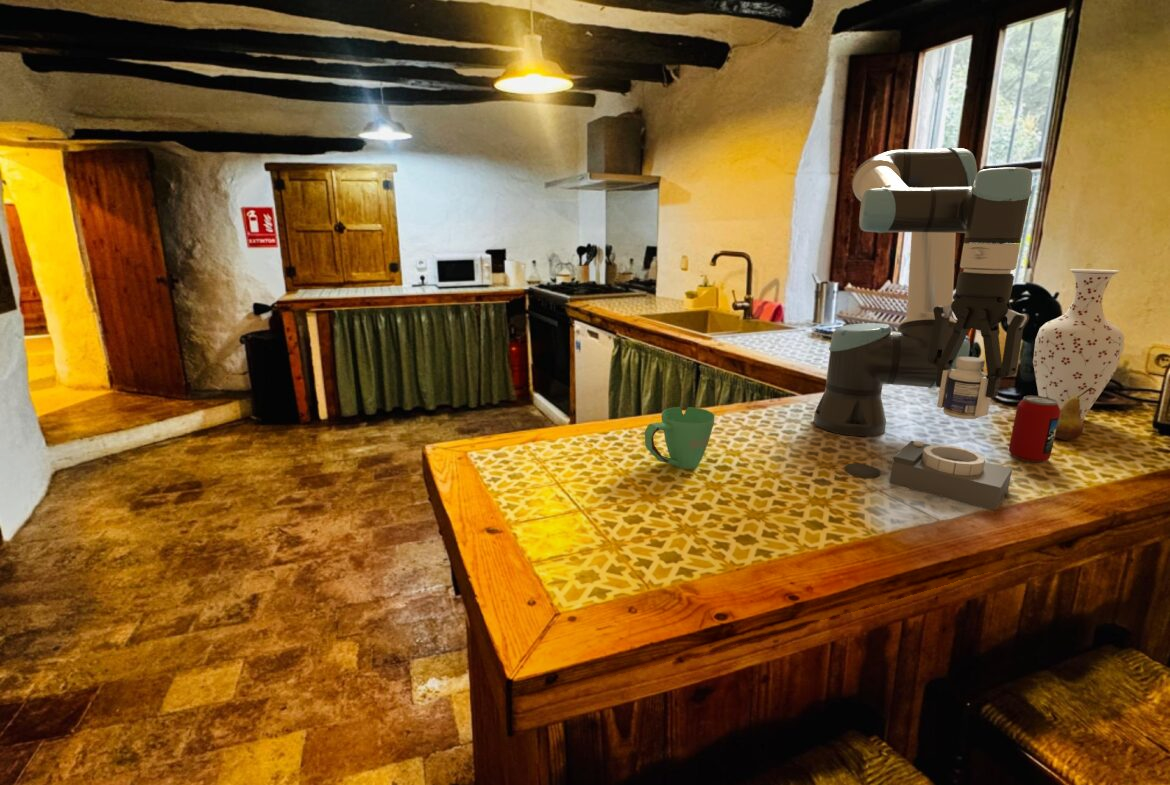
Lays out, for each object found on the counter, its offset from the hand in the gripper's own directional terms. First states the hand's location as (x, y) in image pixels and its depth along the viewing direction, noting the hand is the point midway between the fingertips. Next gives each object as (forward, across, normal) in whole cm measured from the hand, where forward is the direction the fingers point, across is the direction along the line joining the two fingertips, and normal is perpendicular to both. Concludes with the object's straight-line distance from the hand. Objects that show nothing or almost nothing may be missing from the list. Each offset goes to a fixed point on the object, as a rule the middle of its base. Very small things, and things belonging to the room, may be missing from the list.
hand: (961, 410), depth 102 cm
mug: (+14, -32, -35) cm, 49 cm away
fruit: (+14, 0, +47) cm, 49 cm away
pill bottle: (+1, 0, 0) cm, 1 cm away
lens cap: (+14, -12, -7) cm, 20 cm away
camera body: (+14, 0, 0) cm, 14 cm away
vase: (+14, -7, +65) cm, 67 cm away
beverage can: (+14, +1, +28) cm, 31 cm away
